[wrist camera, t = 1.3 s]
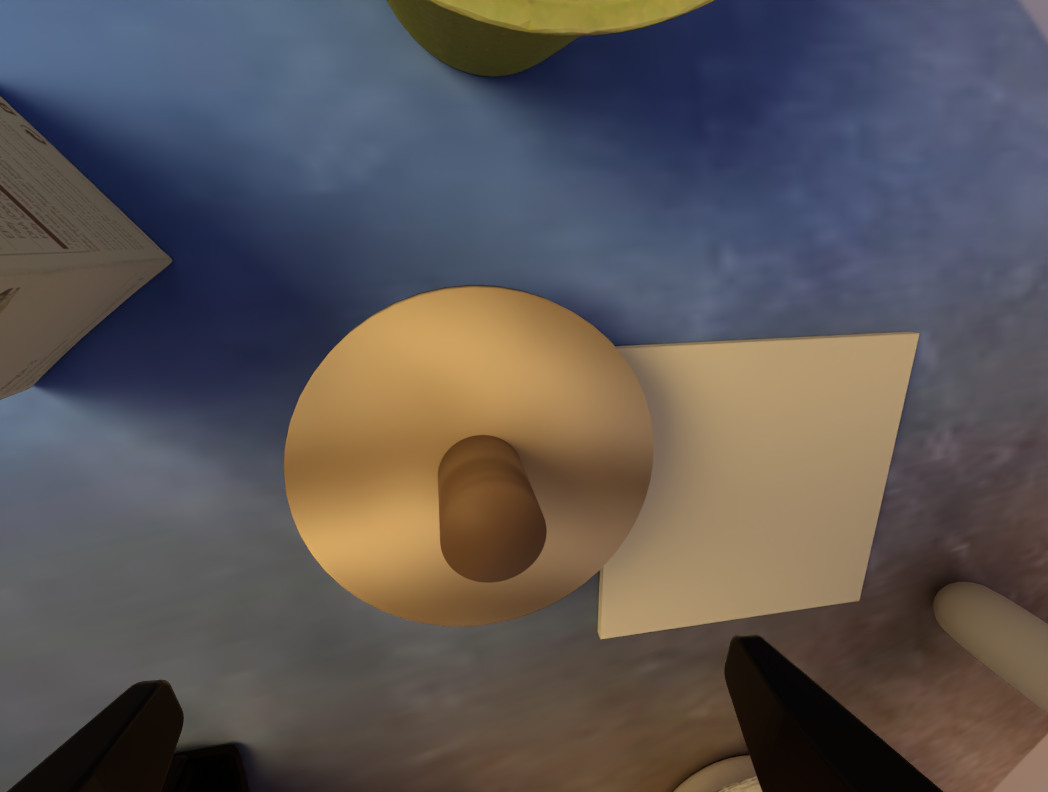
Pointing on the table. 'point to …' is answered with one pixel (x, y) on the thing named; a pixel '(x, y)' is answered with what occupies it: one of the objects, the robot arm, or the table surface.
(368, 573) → the lid
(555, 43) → the plant pot
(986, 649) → the donut
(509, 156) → the table surface
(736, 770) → the paper bowls
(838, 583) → the mat
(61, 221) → the supplement box
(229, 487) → the table surface
